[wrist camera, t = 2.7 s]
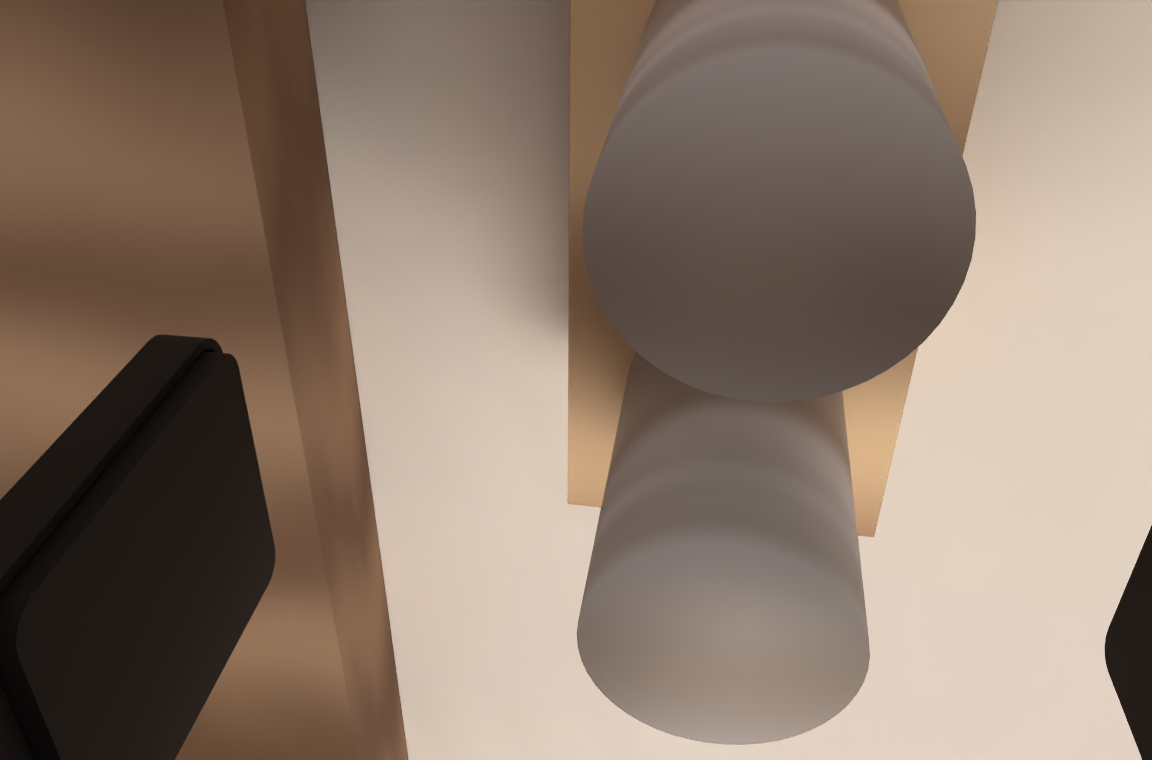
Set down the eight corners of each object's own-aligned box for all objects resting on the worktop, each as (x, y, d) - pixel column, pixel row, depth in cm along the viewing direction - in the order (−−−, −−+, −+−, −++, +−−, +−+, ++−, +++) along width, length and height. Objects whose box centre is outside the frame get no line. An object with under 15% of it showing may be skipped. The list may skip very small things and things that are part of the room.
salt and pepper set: (622, -210, 16) (462, -92, 7) (962, -202, 15) (1194, -65, 7) (606, 346, 21) (505, 761, 13) (852, 368, 21) (908, 817, 12)
